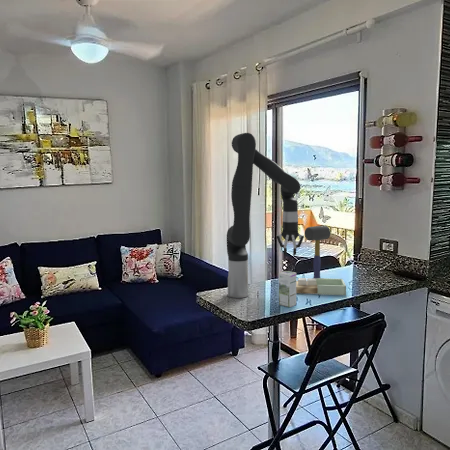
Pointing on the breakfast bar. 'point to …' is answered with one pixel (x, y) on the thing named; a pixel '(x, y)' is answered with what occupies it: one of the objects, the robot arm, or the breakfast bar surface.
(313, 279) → the tile
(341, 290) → the tray
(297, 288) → the board
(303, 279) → the tile
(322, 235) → the rubber mallet
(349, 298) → the breakfast bar surface
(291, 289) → the syrup box
